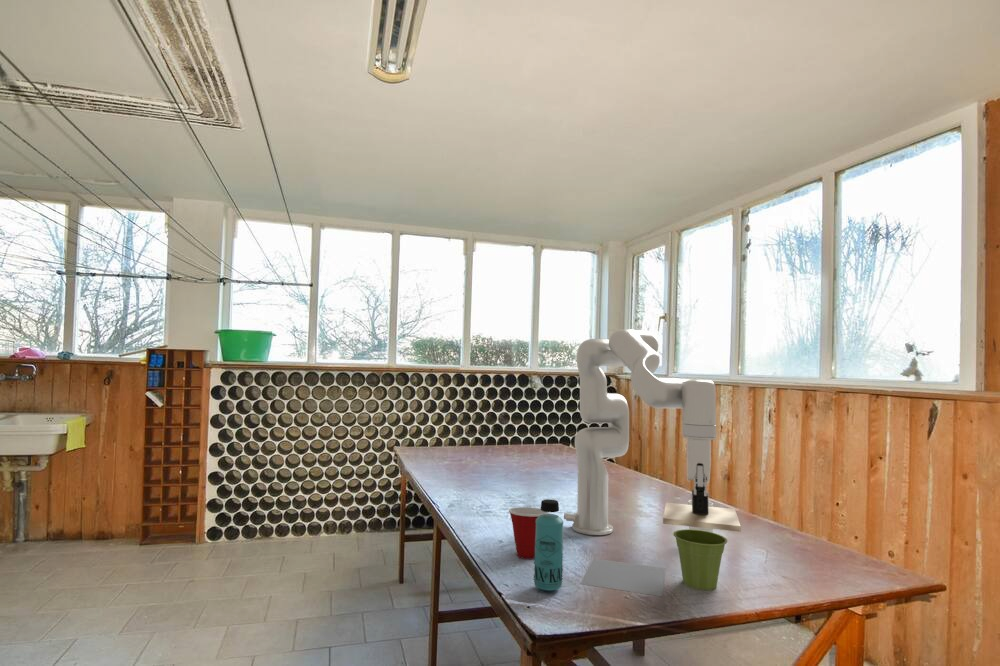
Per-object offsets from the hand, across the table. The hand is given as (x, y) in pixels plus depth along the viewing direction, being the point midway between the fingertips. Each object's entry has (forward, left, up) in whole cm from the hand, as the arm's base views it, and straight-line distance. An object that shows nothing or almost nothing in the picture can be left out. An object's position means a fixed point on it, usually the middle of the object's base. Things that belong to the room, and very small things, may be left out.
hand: (700, 510), depth 124 cm
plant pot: (0, 0, -17) cm, 17 cm away
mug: (+1, +34, -17) cm, 38 cm away
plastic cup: (-43, +4, -17) cm, 47 cm away
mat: (-17, -2, -17) cm, 24 cm away
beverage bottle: (-32, -17, -17) cm, 40 cm away
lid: (0, 0, -2) cm, 2 cm away
